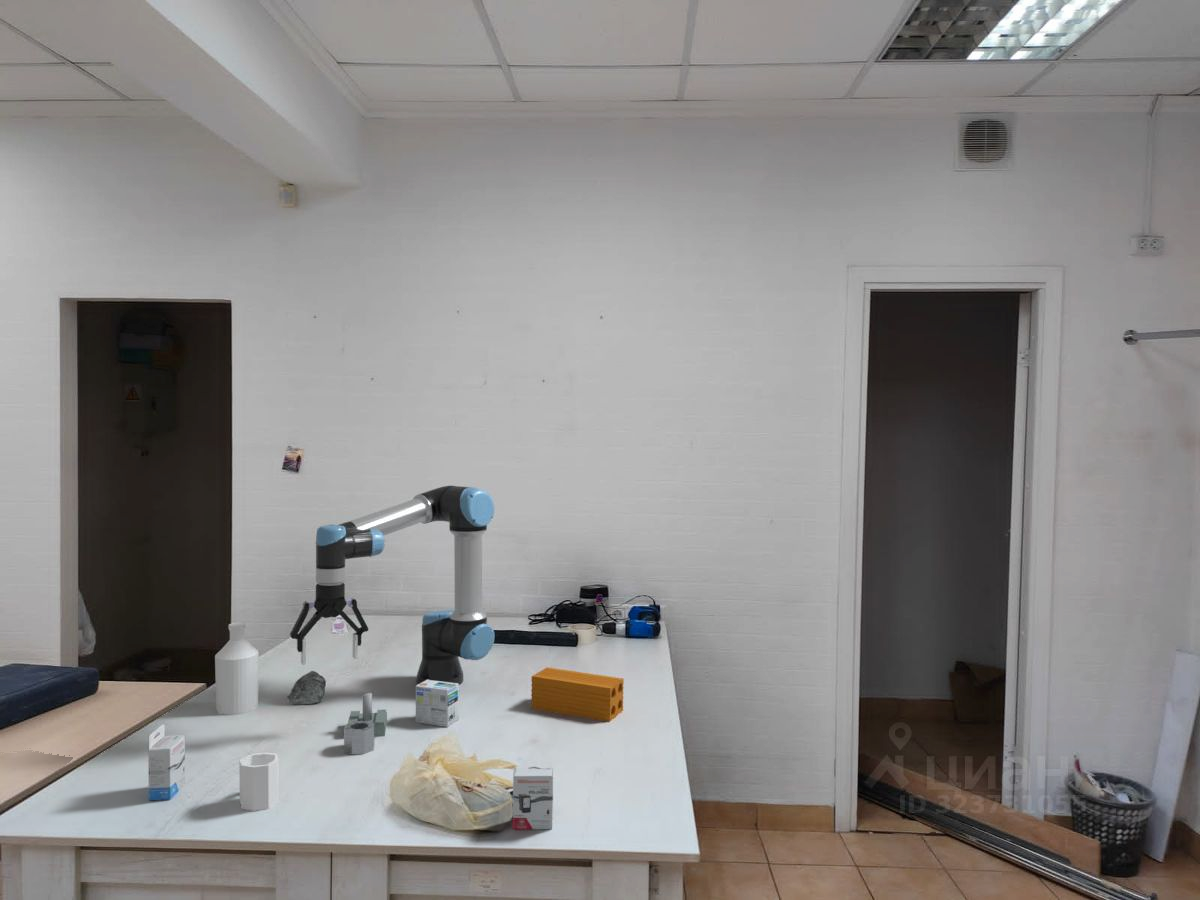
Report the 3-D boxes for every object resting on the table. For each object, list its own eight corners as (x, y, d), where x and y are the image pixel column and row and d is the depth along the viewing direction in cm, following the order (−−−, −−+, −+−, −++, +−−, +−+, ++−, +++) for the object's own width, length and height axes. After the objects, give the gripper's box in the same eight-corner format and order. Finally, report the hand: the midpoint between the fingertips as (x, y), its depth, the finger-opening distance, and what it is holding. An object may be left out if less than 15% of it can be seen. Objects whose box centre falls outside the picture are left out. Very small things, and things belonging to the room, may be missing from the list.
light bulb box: (459, 719, 242) (459, 682, 242) (447, 727, 236) (448, 689, 235) (426, 714, 246) (427, 678, 245) (414, 722, 239) (414, 685, 239)
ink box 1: (170, 800, 190) (170, 736, 189) (147, 801, 189) (147, 736, 189) (186, 784, 198) (185, 722, 198) (164, 784, 198) (163, 722, 197)
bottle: (236, 699, 257) (235, 618, 256) (267, 704, 253) (267, 621, 252) (206, 712, 246) (205, 627, 245) (238, 717, 242) (238, 631, 241)
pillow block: (386, 722, 239) (387, 687, 239) (384, 735, 229) (384, 699, 229) (350, 724, 237) (350, 689, 237) (346, 738, 227) (346, 701, 227)
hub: (375, 742, 225) (375, 720, 224) (373, 753, 217) (373, 730, 217) (346, 744, 223) (346, 721, 223) (343, 755, 216) (343, 732, 216)
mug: (272, 811, 185) (272, 767, 185) (232, 811, 185) (232, 767, 185) (290, 787, 197) (290, 745, 197) (252, 787, 197) (252, 745, 197)
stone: (303, 673, 250) (320, 663, 260) (279, 692, 252) (297, 681, 262) (322, 699, 250) (339, 687, 260) (299, 718, 252) (316, 706, 261)
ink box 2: (511, 830, 178) (512, 775, 178) (513, 819, 183) (513, 765, 183) (552, 829, 179) (553, 774, 178) (552, 818, 184) (553, 765, 183)
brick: (623, 711, 251) (623, 678, 251) (609, 722, 242) (610, 688, 242) (546, 699, 261) (546, 667, 261) (531, 709, 252) (531, 676, 252)
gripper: (373, 577, 238) (372, 651, 238) (279, 583, 226) (278, 662, 227) (379, 581, 231) (378, 658, 232) (283, 588, 219) (282, 669, 220)
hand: (329, 660), depth 229 cm, fingers open, 13 cm apart
